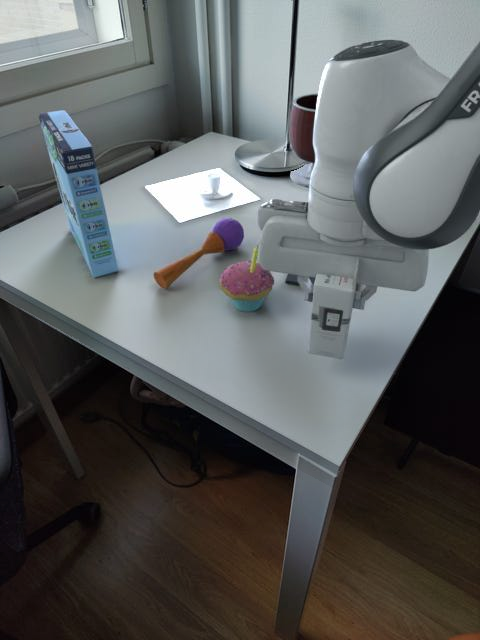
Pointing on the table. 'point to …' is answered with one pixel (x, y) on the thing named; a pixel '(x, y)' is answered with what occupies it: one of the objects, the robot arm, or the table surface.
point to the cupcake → (246, 284)
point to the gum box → (79, 190)
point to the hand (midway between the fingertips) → (334, 302)
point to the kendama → (204, 250)
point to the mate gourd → (303, 135)
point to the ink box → (331, 314)
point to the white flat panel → (201, 194)
